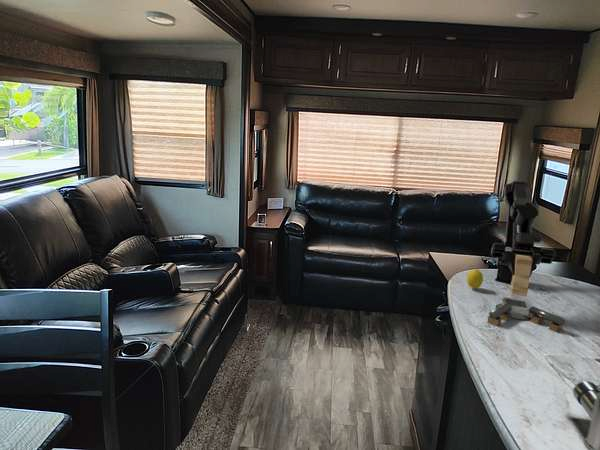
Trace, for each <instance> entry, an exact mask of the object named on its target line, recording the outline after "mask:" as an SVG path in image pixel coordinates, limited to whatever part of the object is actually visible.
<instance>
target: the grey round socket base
mask: <svg viewBox="0 0 600 450" xmlns="http://www.w3.org/2000/svg"><path fill="white" fill-rule="evenodd" d="M505 304H510V305H511V306H512V310H511V311H509V312H508V313H511V315H510V320H511V319H512V320H518V321H529V320H530V321H531V317H532V315H533V314H531V313H529V309H530V308H531V306H530V304H529V302H528V301H527V300H524V299H519V298H511V297H503V298H501V302H500V303H498V304H496V305H495V308H494V310H495V309H497V308H499V307H501V306H503V305H505Z"/></svg>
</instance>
